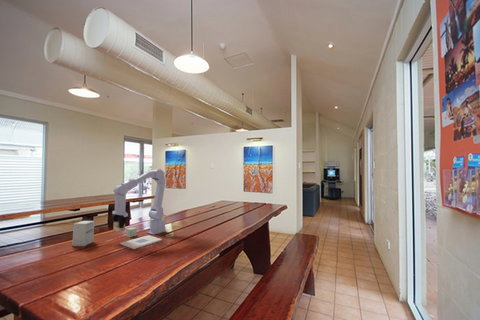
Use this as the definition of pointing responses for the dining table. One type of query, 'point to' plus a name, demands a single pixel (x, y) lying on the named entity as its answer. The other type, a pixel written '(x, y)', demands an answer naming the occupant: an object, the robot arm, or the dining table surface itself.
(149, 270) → the dining table surface
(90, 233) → the supplement box
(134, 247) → the white flat slab
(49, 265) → the dining table surface
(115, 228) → the maple block
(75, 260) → the dining table surface
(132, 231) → the sage block
